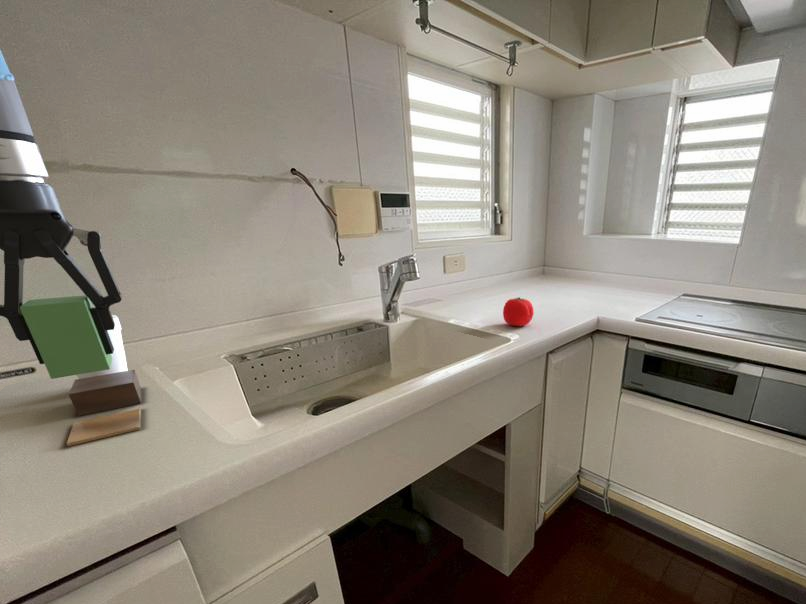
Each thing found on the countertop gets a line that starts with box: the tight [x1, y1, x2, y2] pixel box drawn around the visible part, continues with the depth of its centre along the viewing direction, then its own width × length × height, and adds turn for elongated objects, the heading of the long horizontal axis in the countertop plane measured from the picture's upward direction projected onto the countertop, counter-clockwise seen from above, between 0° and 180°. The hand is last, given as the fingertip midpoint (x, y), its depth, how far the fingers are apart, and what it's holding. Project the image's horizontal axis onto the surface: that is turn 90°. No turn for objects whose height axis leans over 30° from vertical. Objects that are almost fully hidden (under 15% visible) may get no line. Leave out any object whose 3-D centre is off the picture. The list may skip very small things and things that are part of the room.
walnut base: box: [68, 369, 142, 417], centre depth 71 cm, size 8×8×4 cm
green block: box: [20, 294, 112, 380], centre depth 57 cm, size 6×6×10 cm
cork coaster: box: [66, 408, 142, 447], centre depth 63 cm, size 8×8×1 cm
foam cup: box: [75, 314, 129, 379], centre depth 75 cm, size 10×9×13 cm
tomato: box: [502, 297, 535, 327], centre depth 122 cm, size 9×10×8 cm
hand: (78, 356), depth 58 cm, fingers closed on green block, 6 cm apart
